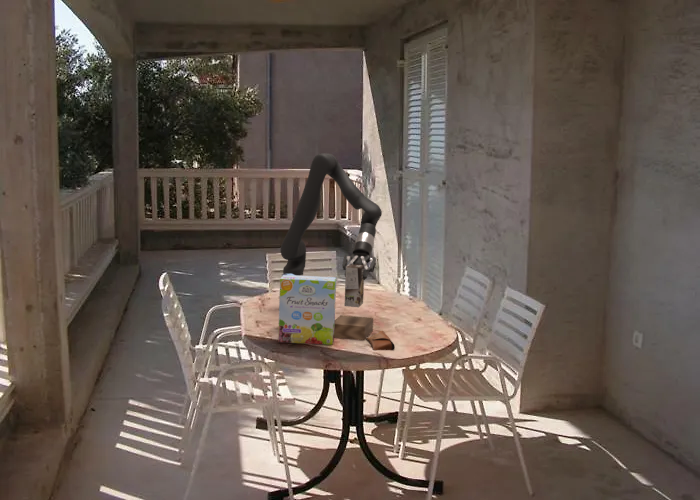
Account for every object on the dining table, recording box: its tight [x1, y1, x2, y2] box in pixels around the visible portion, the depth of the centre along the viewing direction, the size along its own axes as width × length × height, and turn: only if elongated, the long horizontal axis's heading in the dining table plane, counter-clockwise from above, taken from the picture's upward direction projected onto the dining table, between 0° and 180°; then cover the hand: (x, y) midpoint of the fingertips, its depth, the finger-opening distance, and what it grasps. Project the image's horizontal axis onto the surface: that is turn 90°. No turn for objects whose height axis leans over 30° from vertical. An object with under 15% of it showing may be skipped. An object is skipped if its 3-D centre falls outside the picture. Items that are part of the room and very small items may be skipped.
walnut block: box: [334, 315, 374, 341], centre depth 325 cm, size 14×16×6 cm
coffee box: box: [343, 264, 365, 308], centre depth 322 cm, size 9×6×16 cm
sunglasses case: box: [365, 330, 395, 351], centre depth 310 cm, size 18×7×7 cm
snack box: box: [277, 275, 337, 346], centre depth 309 cm, size 22×9×26 cm, turn 88°
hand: (355, 278), depth 323 cm, fingers closed on coffee box, 6 cm apart
